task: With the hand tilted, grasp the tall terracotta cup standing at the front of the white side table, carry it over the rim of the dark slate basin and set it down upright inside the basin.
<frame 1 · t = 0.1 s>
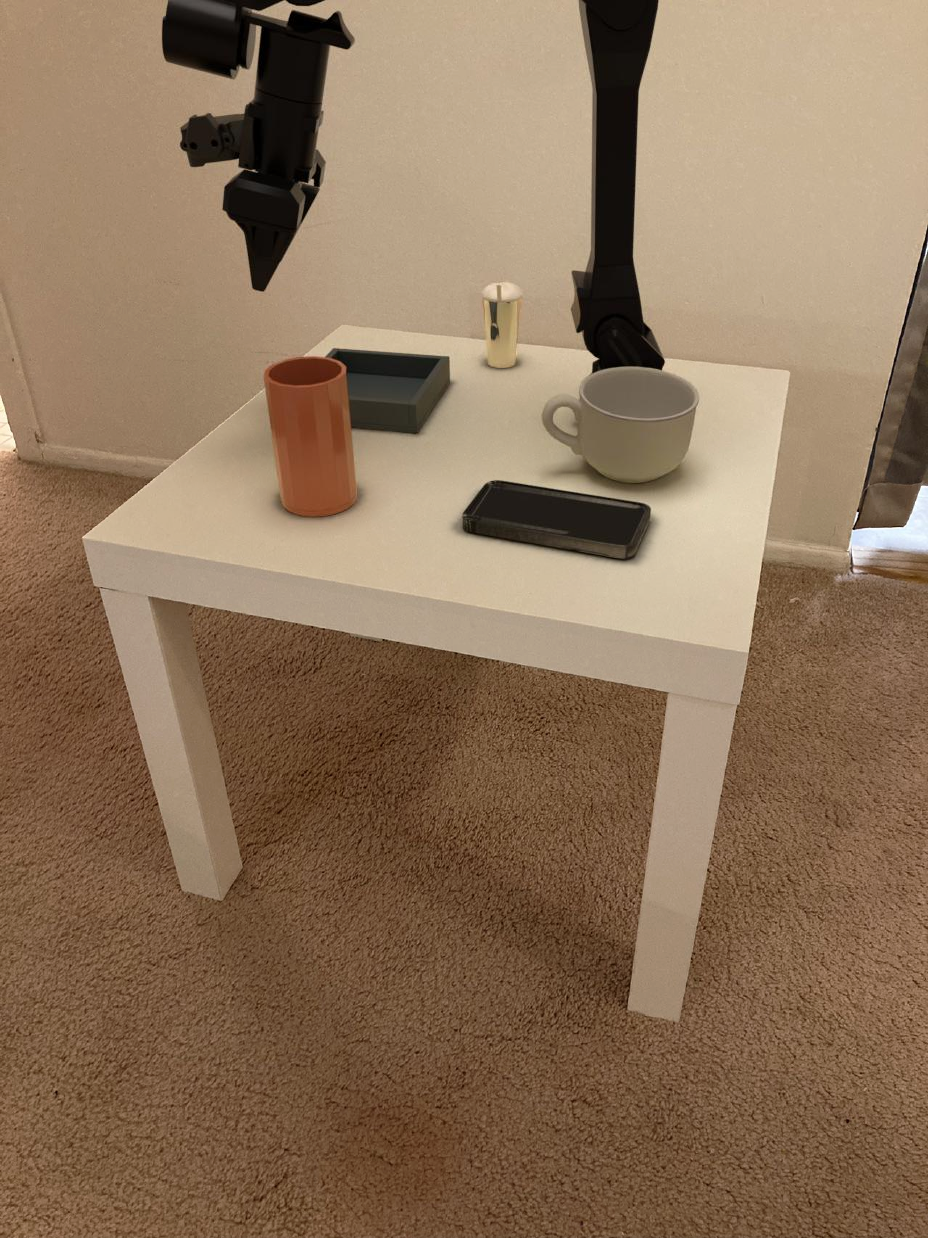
hand: (267, 275, 93), 15 cm above the table, tool pointing down, fingers open, 9 cm apart
cup: (319, 498, 89), on the table
basin: (374, 401, 107), on the table
phone: (556, 525, 85), on the table
teacup: (614, 470, 93), on the table, touching arm
milkshake: (501, 366, 115), on the table
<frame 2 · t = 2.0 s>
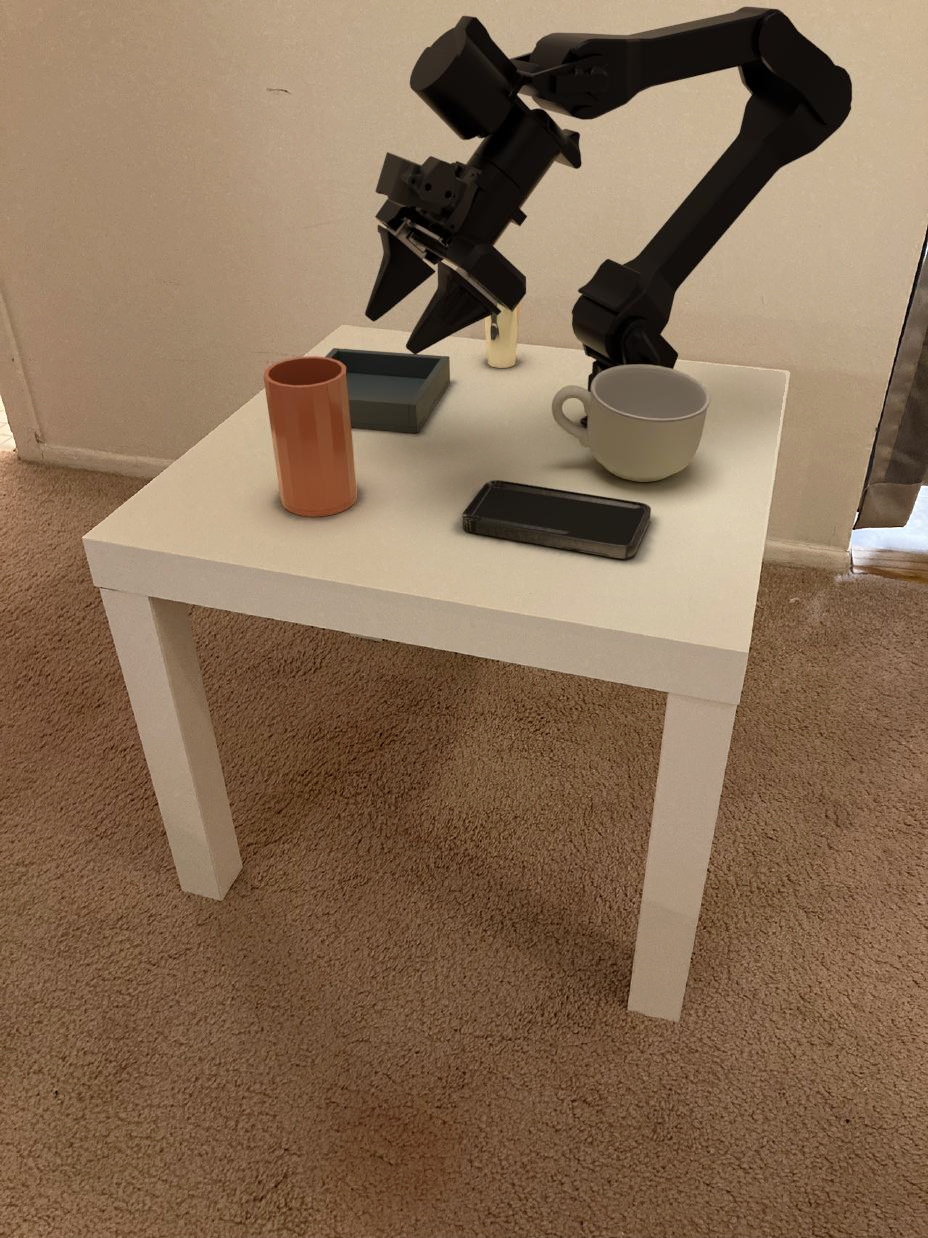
hand: (388, 333, 85), 14 cm above the table, tool tilted 45°, fingers open, 9 cm apart
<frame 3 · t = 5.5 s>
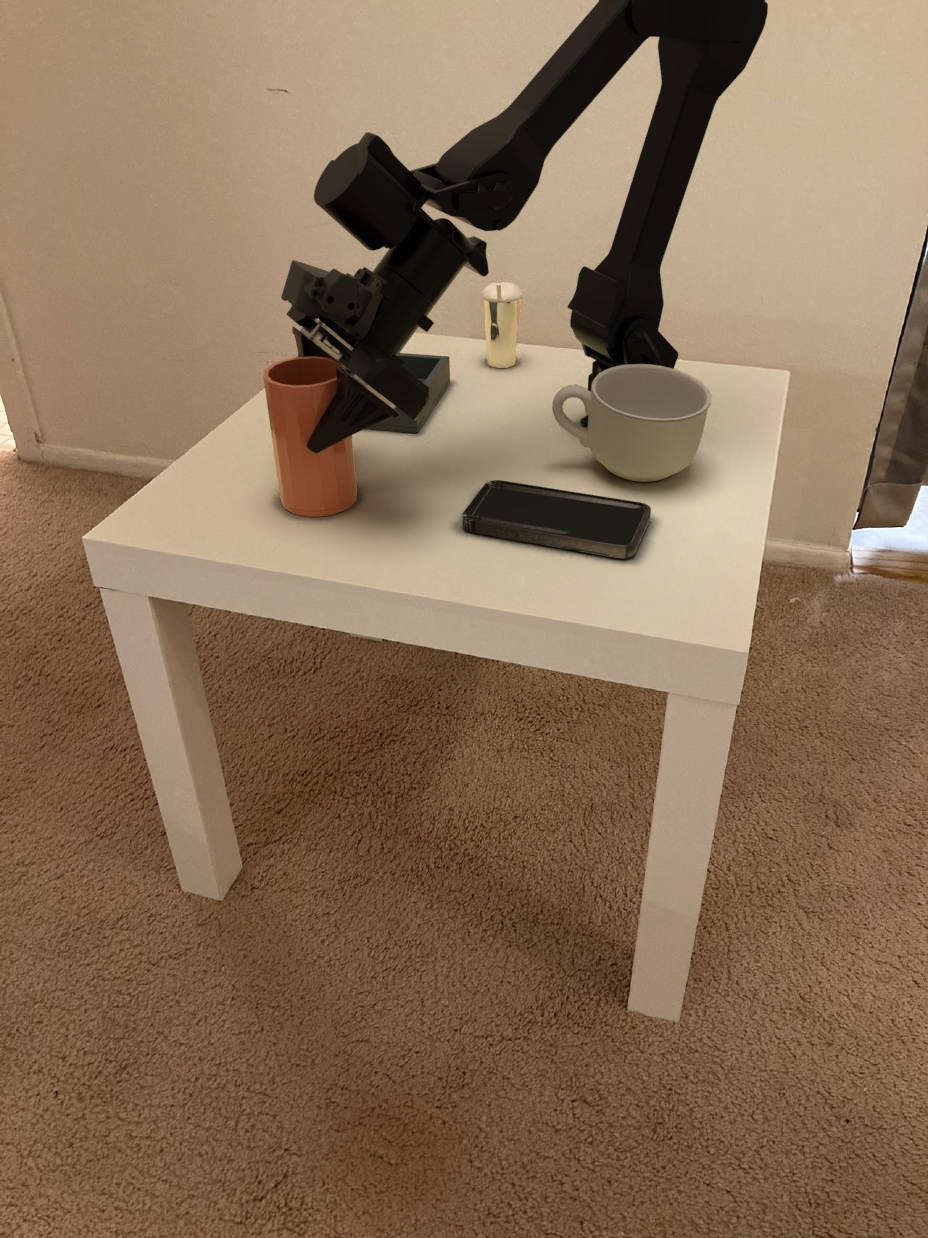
hand: (296, 434, 85), 7 cm above the table, tool tilted 45°, fingers closed on cup, 7 cm apart
cup: (319, 498, 89), on the table, touching gripper
everything else where it was.
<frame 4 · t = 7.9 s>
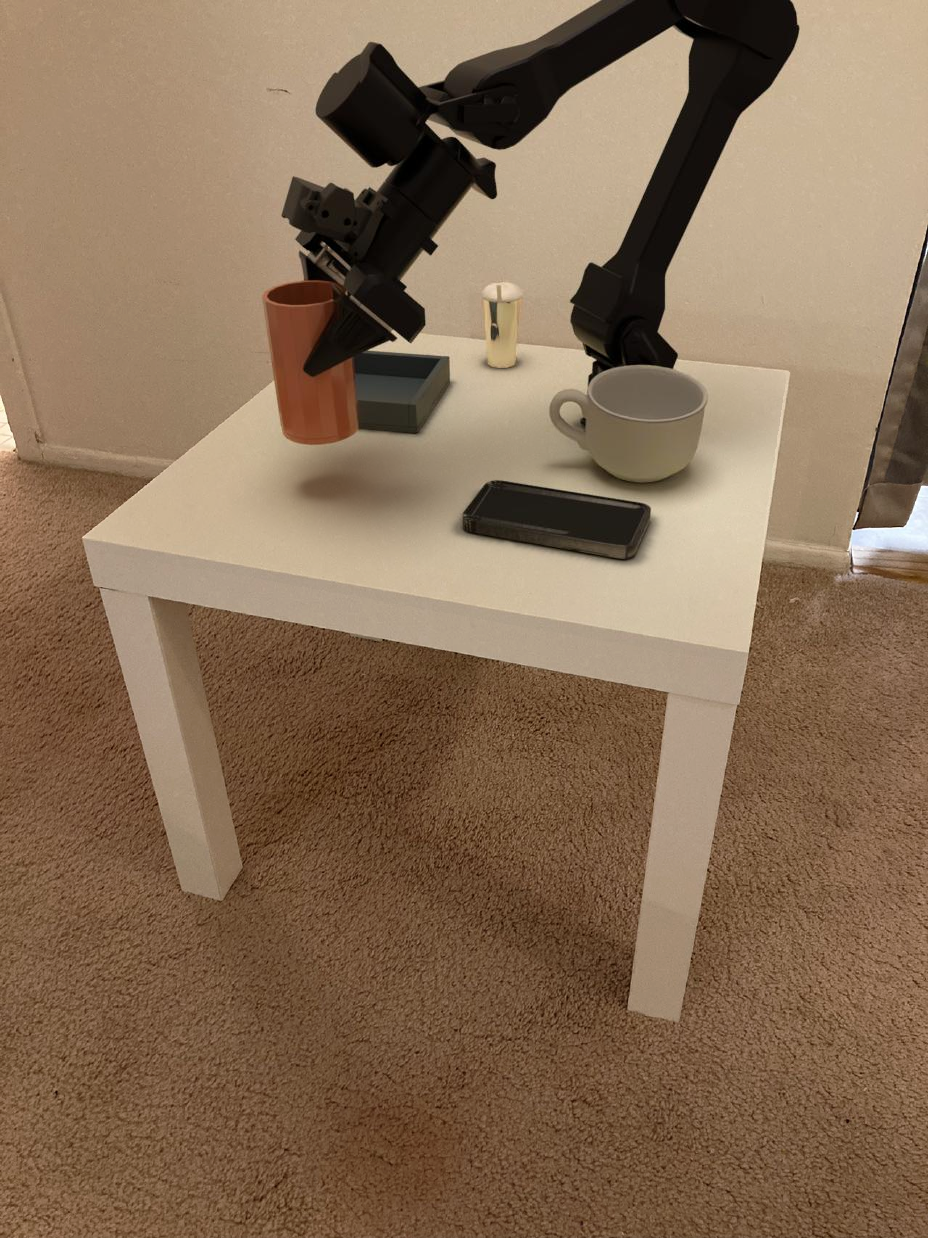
hand: (296, 358, 84), 12 cm above the table, tool tilted 45°, fingers closed on cup, 7 cm apart
cup: (320, 428, 88), point 6 cm above the table, touching gripper
everything else where it was.
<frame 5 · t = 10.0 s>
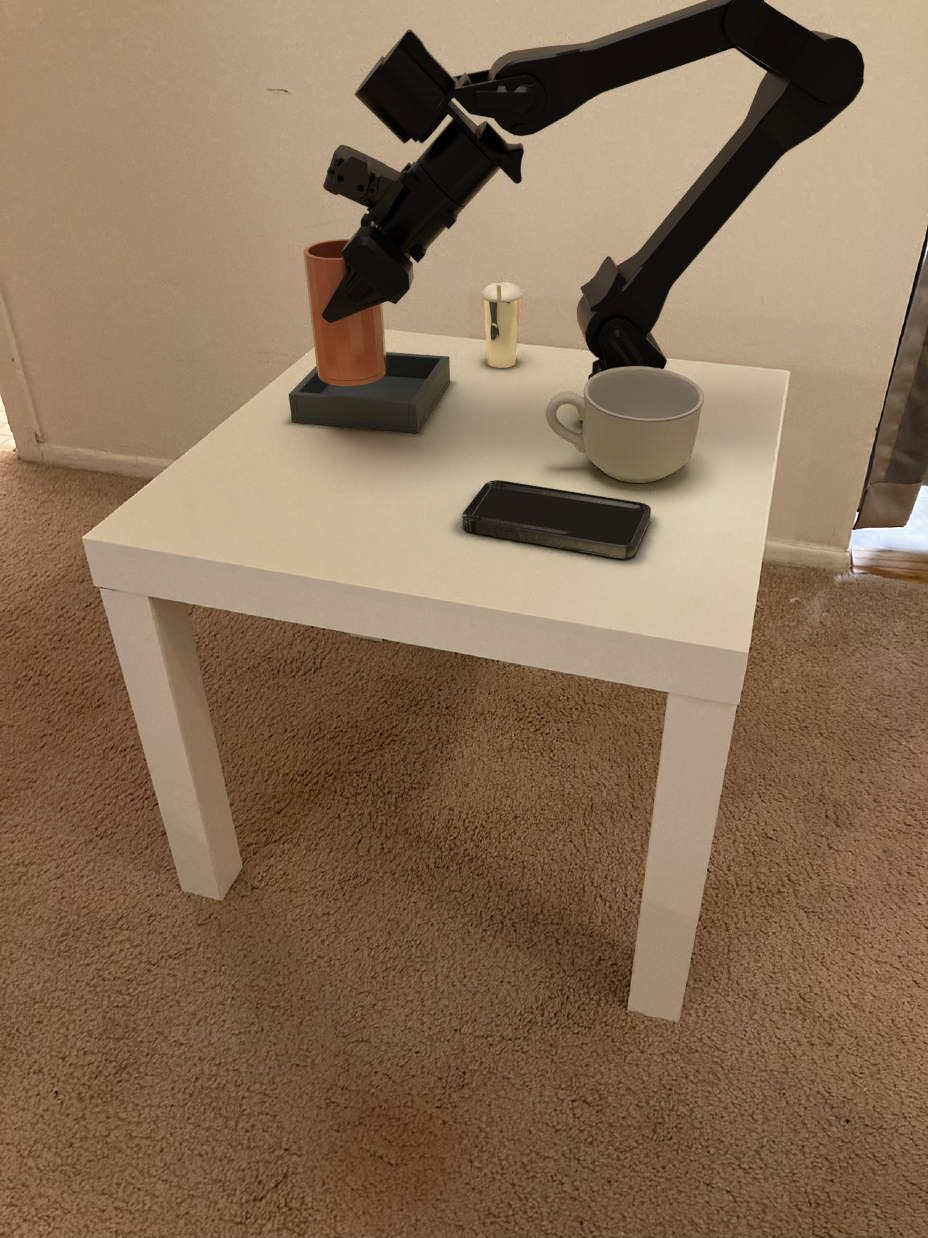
hand: (332, 306, 95), 12 cm above the table, tool tilted 45°, fingers closed on cup, 7 cm apart
cup: (352, 373, 98), point 6 cm above the table, touching gripper
everything else where it was.
when the fingers open (7 cm above the table, at t = 13.2 s): cup stays where it is, resting on basin.
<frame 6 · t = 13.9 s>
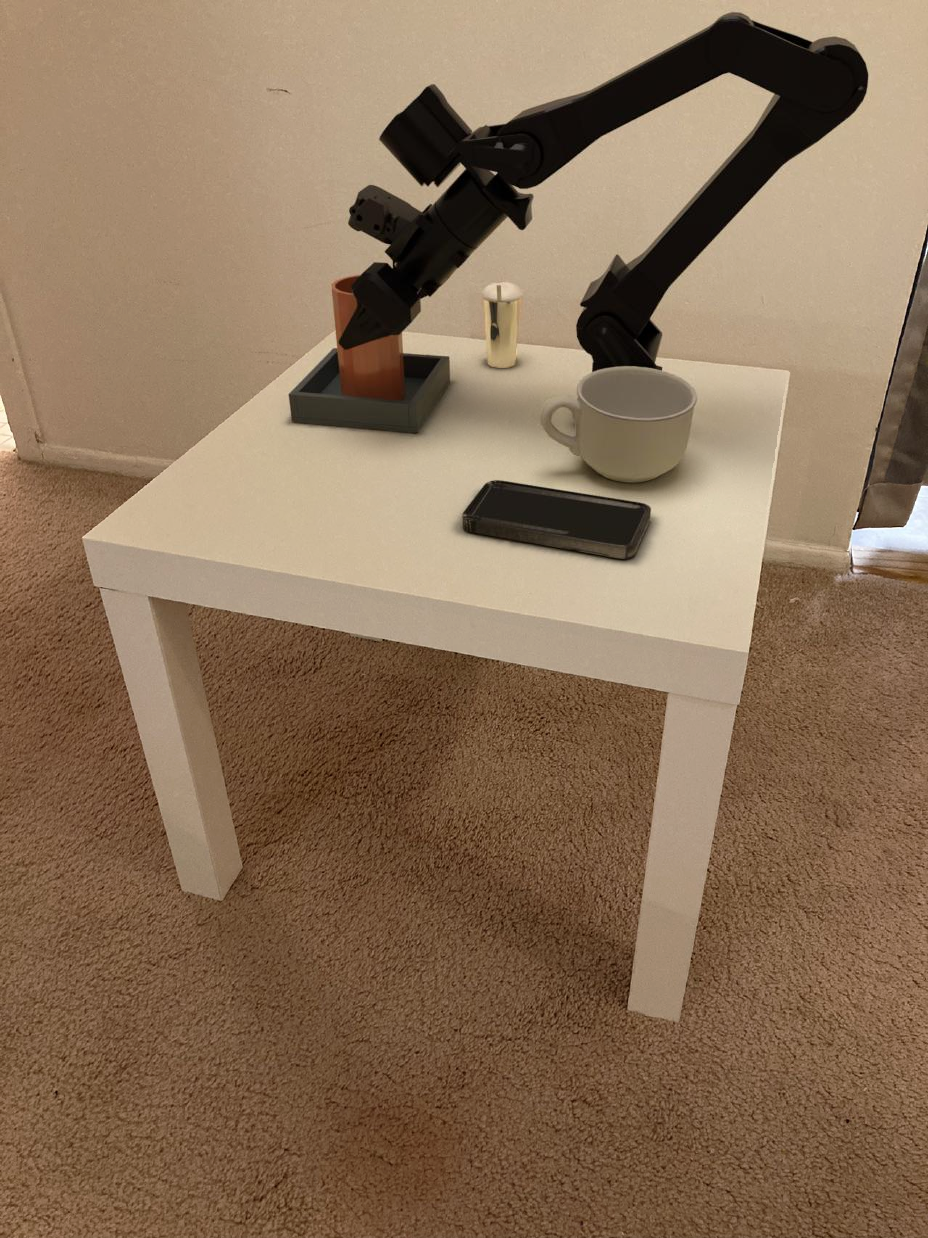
hand: (356, 330, 103), 8 cm above the table, tool tilted 45°, fingers open, 9 cm apart
cup: (373, 396, 107), point 1 cm above the table, touching basin
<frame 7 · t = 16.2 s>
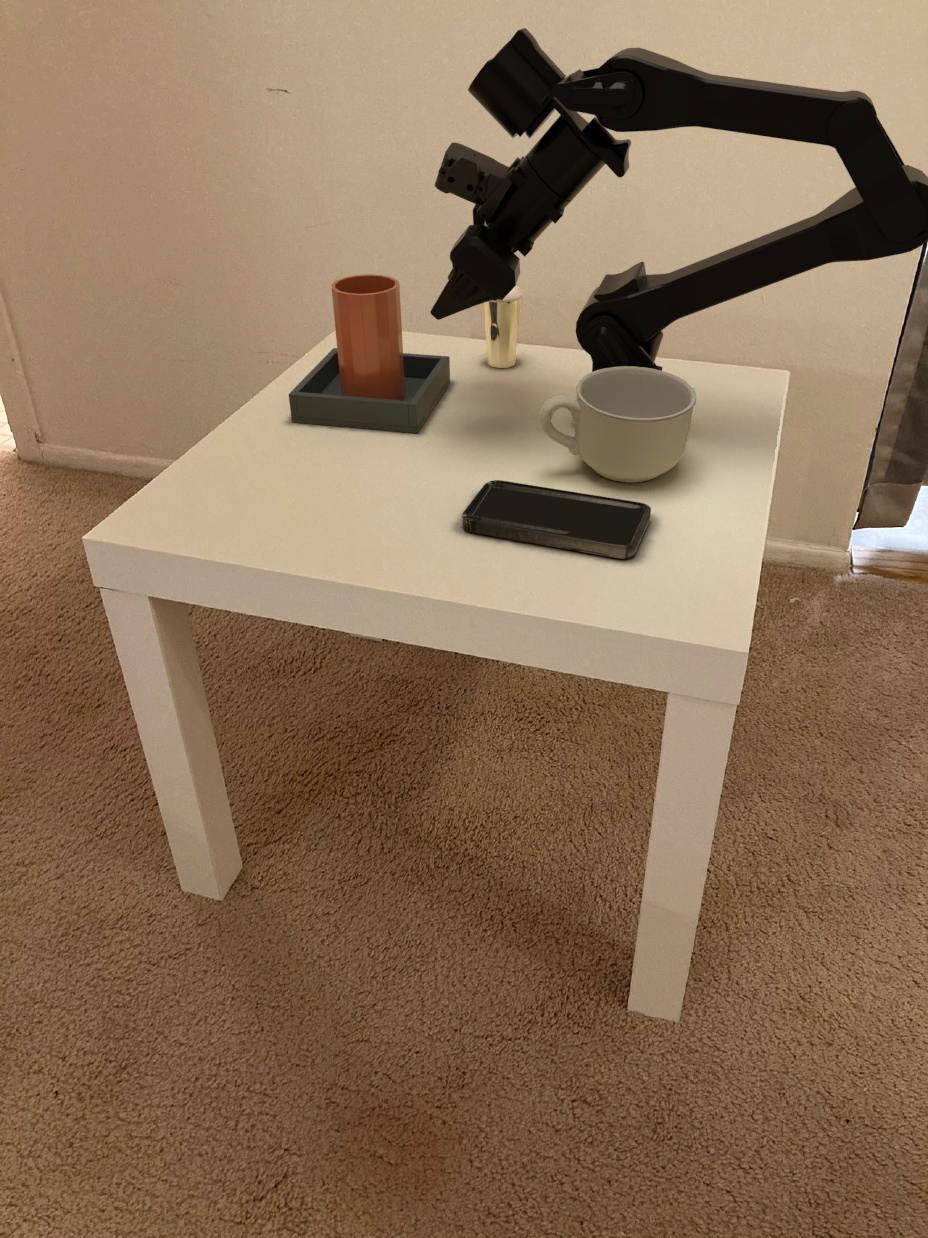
hand: (442, 297, 99), 12 cm above the table, tool tilted 40°, fingers open, 9 cm apart
nothing on the table moved.
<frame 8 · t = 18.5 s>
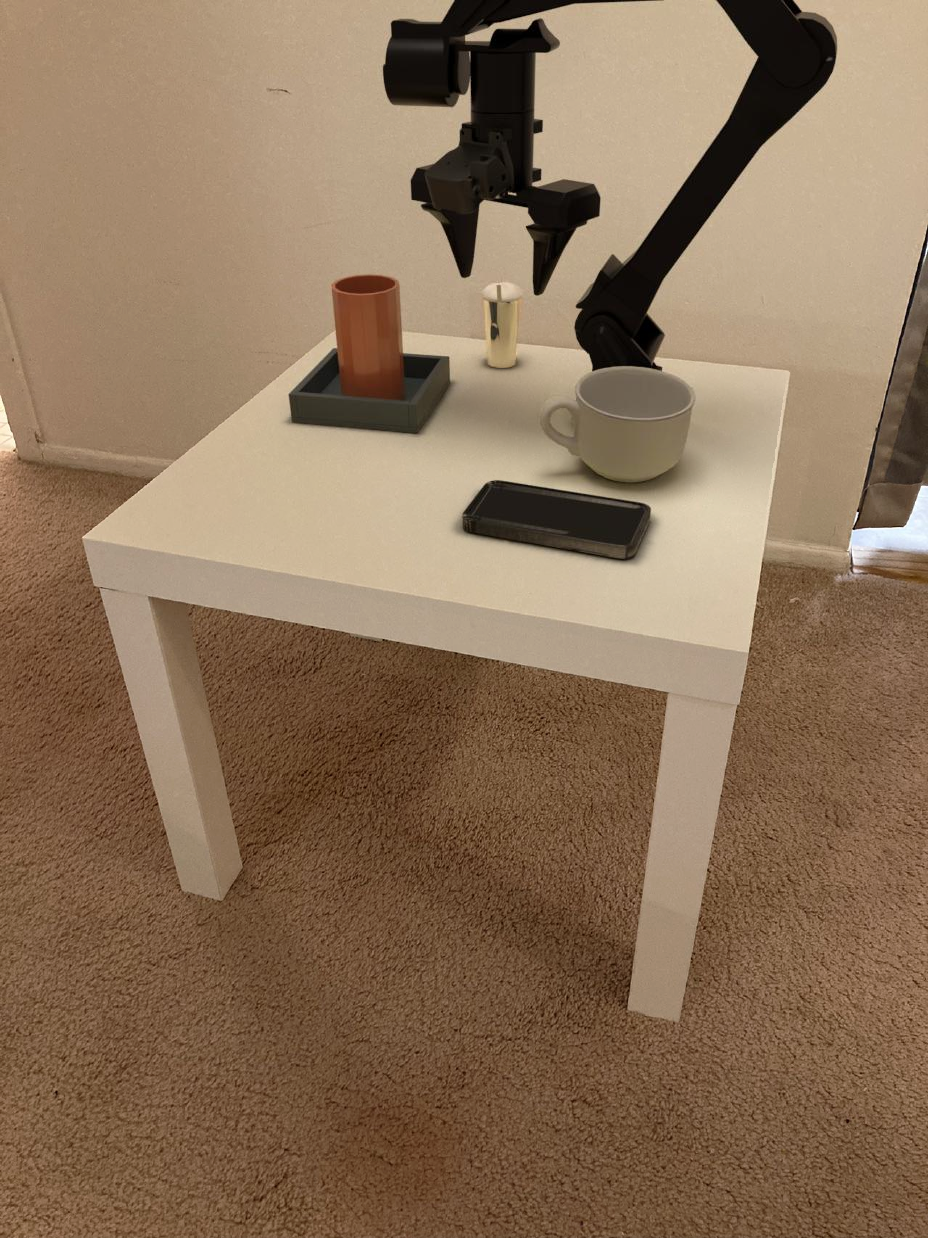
hand: (501, 285, 97), 13 cm above the table, tool pointing down, fingers open, 9 cm apart
nothing on the table moved.
at the end: cup inside the target area in the basin (0.0 cm from its centre), point 0.6 cm above the basin's base; cup tilted 0°; the gripper is holding nothing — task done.
